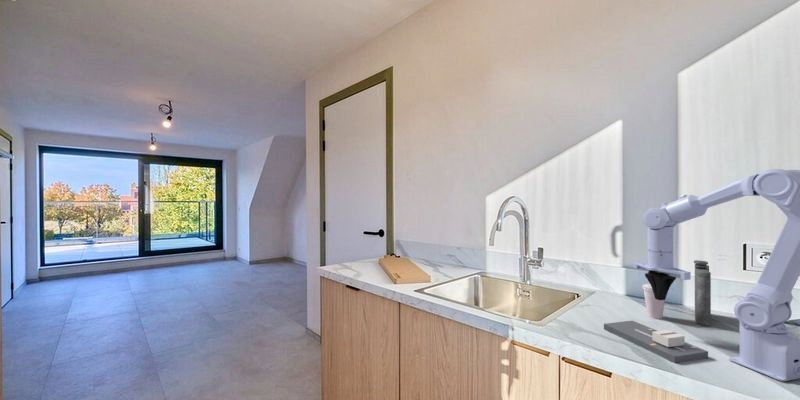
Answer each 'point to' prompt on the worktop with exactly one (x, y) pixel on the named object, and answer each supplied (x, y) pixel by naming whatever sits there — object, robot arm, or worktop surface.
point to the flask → (702, 293)
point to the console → (644, 339)
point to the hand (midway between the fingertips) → (660, 299)
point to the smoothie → (653, 303)
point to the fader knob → (668, 338)
